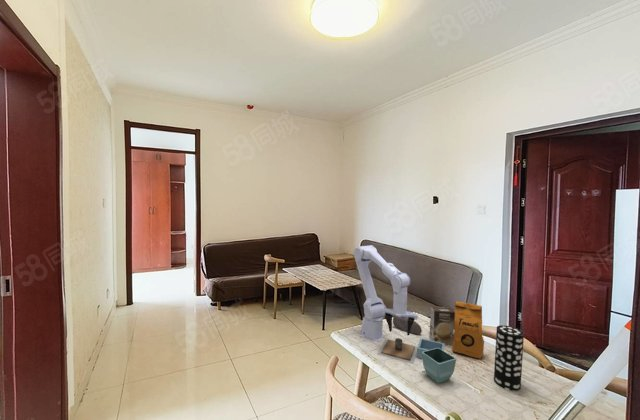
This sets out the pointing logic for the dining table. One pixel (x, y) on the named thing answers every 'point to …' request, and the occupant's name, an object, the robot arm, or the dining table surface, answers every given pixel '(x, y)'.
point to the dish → (427, 346)
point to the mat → (396, 357)
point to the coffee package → (468, 330)
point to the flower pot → (438, 364)
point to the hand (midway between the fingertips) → (399, 332)
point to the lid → (398, 349)
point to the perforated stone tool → (406, 325)
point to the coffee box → (442, 325)
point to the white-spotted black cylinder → (508, 357)
